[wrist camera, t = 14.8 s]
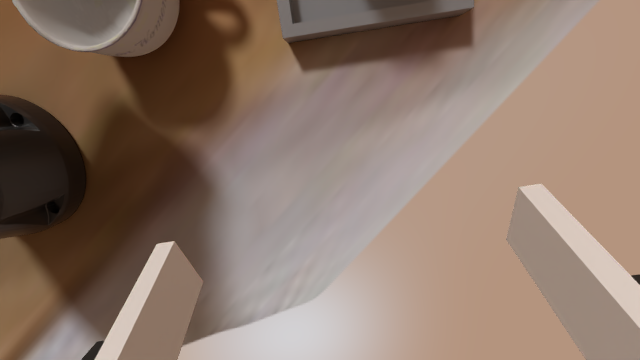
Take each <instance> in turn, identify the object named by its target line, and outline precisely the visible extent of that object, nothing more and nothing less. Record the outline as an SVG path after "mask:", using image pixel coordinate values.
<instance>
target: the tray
mask: <svg viewBox="0 0 640 360" xmlns="http://www.w3.org/2000/svg"><path fill="white" fill-rule="evenodd" d="M277 4H278V10H279V17H280V23H281V29H282V35H283V39H284V40H285V41H286V42H287V43H292V42H298V41H304V40H311V39H317V38H323V37H329V36H336V35H342V34H348V33H354V32H360V31H367V30H373V29H379V28H385V27H391V26H398V25H404V24H410V23H416V22H423V21H429V20H435V19H441V18H447V17H454V16H460V15H462V14H463V13H465V12H467V11H468V10H470V9H472V8H473V7H474V0H277Z"/></svg>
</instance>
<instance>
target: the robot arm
mask: <svg viewBox="0 0 640 360" xmlns="http://www.w3.org/2000/svg"><path fill="white" fill-rule="evenodd" d="M85 184H86V176H85V168H84V164H83V160H82V157H81V155H80V152H79V150H78V148H77V146H76V144H75V142H74V141H73V139H72V137H71V136H70V135H69V133H68V132H67V131H66V129H65V128H64V127H63V126H62V125H61V124H60V123H59V122H58V121H57V120H56V119H55V118H54V117H53V116H52V115H50V114H49V113H48V112H46V111H45V110H43V109H42V108H40V107H39V106H37V105H35V104H33V103H31V102H29V101H26V100H24V99H21V98H17V97H13V96H7V95H0V239H1V238H7V237H14V236H20V235H27V234H33V233H36V232H40V231H43V230H45V229H48V228H50V227H52V226H54V225H56V224H58V223H60V222H62V221H64V220H66V219H67V218H68V217H70V216H71V215H72V214H73V213H74V212H75V211H76V209H77V208H78V207H79V205H80V203H81V201H82V199H83V195H84V192H85ZM506 240H507V241H508V243H509V244H510V246H511V247H512V249H513V250H514V252H515V253H516V255H517V256H518V258H519V259H520V261H521V262H522V264H523V265H524V267H525V268H526V270H527V271H528V273H529V274H530V276H531V277H532V279H533V281H534V282H535V284H536V285H537V287H538V288H539V290H540V291H541V293H542V294H543V296H544V297H545V298H546V300H547V302H548V303H549V305H550V306H551V308H552V309H553V311H554V312H555V314H556V315H557V317H558V318H559V320H560V321H561V323H562V324H563V326H564V327H565V329H566V330H567V332H568V333H569V335H570V336H571V338H572V339H573V341H574V342H575V344H576V345H577V347H578V348H579V350H580V351H581V353H582V354H583V356H584V357H585V359H586V360H640V275H632V276H631V275H629V273H628V272H627V271H626V270H625V269H624V268H623V267H622V266H621V265H620V264H619V263H618V262H617V261H616V260H615V259H614V258H613V257H612V256H611V255H610V254H609V253H608V252H607V251H606V250H605V249H604V248H603V247H602V246H601V245H600V244H599V243H598V241H597V240H595V238H594V237H593V236H592V235H591V234H590V233H589V232H588V231H587V230H586V229H585V228H584V227H583V226H582V225H581V224H580V223H579V222H578V221H577V220H576V219H575V218H574V217H573V216H572V215H571V214H570V213H569V212H568V211H567V210H566V209H565V208H564V207H563V206H562V204H561V203H560V202H559V201H558V200H557V199H556V198H555V197H554V196H553V195H552V194H551V193H550V192H549V191H548V190H547V189H546V188H545V187H544V186H543V185H542V184H536V185H530V186H524V187H518V192H517V196H516V200H515V204H514V209H513V213H512V217H511V222H510V226H509V230H508V234H507V239H506ZM202 285H203V280H202V279H201V278H200V276H199V275H198V273H197V272H196V271H195V269H194V268H193V266H192V265H191V263H190V262H189V261H188V259H187V258H186V256H185V255H184V254H183V252H182V251H181V249H180V248H179V247H178V245H177V244H176V242H175V241H172V242H165V243H159V244H156V246H155V248H154V250H153V252H152V254H151V256H150V257H149V259H148V261H147V263H146V265H145V267H144V269H143V270H142V272H141V274H140V276H139V278H138V280H137V282H136V283H135V285H134V287H133V289H132V291H131V293H130V295H129V296H128V298H127V300H126V302H125V304H124V306H123V308H122V310H121V311H120V313H119V315H118V317H117V319H116V321H115V323H114V324H113V326H112V328H111V330H110V332H109V334H108V336H107V337H106V339H105V341H98V342H96V343H95V345H94V346H93V347H92V348H91V349H90V350H89V351H88V353H87V354H86V355H85V356H84V357H83V358H82V360H177V359H178V356H179V353H180V350H181V347H182V344H183V341H184V338H185V335H186V332H187V329H188V326H189V323H190V320H191V317H192V314H193V311H194V308H195V305H196V302H197V299H198V296H199V293H200V290H201V287H202Z"/></svg>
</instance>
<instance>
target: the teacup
mask: <svg viewBox="0 0 640 360" xmlns="http://www.w3.org/2000/svg"><path fill="white" fill-rule="evenodd" d="M12 1H13V3H14V5H15V6H16V7H17V9H18V10H19V12H20V13H21V15H22V16H23V18H24V19H25V20H26V21H27V23H28V24H29V25H30V26H31V27H32V28H33V29H34V30H35V31H36V32H37V33H39V34H40V35H41V36H42V37H44V38H45V39H47V40H49V41H50V42H52V43H54V44H56V45H58V46H61V47H63V48H66V49H69V50H73V51H79V52H92V53H98V54H104V55H110V56H120V57H135V56H140V55H144V54H148V53H150V52H152V51H154V50H156V49H157V48H159V47H160V46H161V45H163V44H164V43H165V42H166V40H167V39H168V38H169V36H170V35H171V33H172V32H173V30H174V28H175V25H176V23H177V19H178V14H179V0H12Z"/></svg>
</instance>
